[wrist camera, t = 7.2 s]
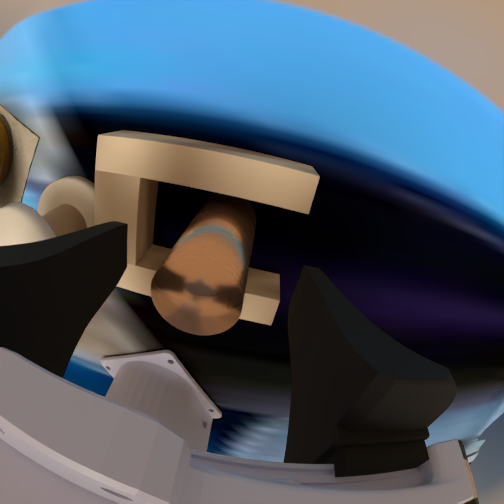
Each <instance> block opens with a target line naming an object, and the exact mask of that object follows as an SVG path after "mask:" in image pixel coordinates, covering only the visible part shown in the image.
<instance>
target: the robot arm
mask: <svg viewBox="0 0 504 504" xmlns="http://www.w3.org/2000/svg"><path fill="white" fill-rule="evenodd" d="M127 234H128V224H126V223H122V222H117V221H111V222H106V223H102V224H99V225H95V226H92V227H88V228H85V229H82V230H79V231H75V232H72V233H68V234H65V235H61V236H58V237H54V238H50V239H46V240H41V241H36V242H31V243H24V244H16V245H8V246H0V504H463V503H465V502H467V501H468V500H470V499H472V498H473V496H474V495H473V491H472V487H471V483H470V479H469V475H468V472H467V468H466V465H465V461H464V458H463V455H462V451H461V448H460V445H459V442H458V440H456V439H454V440H450V441H445V442H440V443H436V444H433V445H431V446H429V447H427V448H426V444H425V441H424V440H426V439H427V438H429V431H428V428H427V427H428V426H429V425H430V424H431V423H433V422H434V421H435V420H436V419H437V418H438V417H439V416H440V415H441V414H442V413H443V412H444V411H445V410H446V409H447V408H448V407H449V406H450V405H451V403H452V402H453V400H454V398H455V396H456V393H457V387H456V384H455V382H454V380H453V378H452V376H451V373H450V371H449V370H448V368H446V367H443V366H441V365H439V364H437V363H435V362H432V361H430V360H428V359H426V358H424V357H422V356H420V355H418V354H417V353H415V352H413V351H411V350H410V349H408V348H406V347H405V346H403V345H401V344H400V343H398V342H397V341H395V340H394V339H393V338H391V337H390V336H388V335H387V334H385V333H384V332H383V331H381V330H380V329H379V328H378V327H376V326H375V325H374V324H373V323H372V322H371V321H369V320H368V319H367V318H366V317H365V316H364V315H363V314H361V313H360V312H359V311H358V310H357V309H356V308H355V307H354V306H353V305H352V304H351V303H350V302H349V300H348V299H347V298H346V297H345V296H344V295H343V294H342V293H341V292H340V291H339V290H338V288H337V287H336V286H335V285H334V284H333V283H332V282H331V280H330V279H329V278H328V277H327V276H326V275H325V274H324V273H323V272H322V271H321V270H320V269H319V268H316V267H311V266H307V265H304V266H303V269H302V272H301V275H300V277H299V280H298V283H297V286H296V288H295V291H294V294H293V297H292V299H291V302H290V305H289V314H288V335H289V347H290V359H291V371H292V388H291V405H290V417H289V428H288V436H287V444H286V451H285V457H284V463H280V462H269V461H259V460H251V459H244V458H237V457H231V456H225V455H219V454H214V453H209V452H206V451H207V446H208V440H209V435H210V430H211V425H212V419H213V418H220V417H221V416H222V413H221V411H220V410H219V409H218V408H217V407H216V406H215V404H214V403H213V402H212V401H211V400H210V399H209V397H208V396H207V395H206V394H205V392H204V391H203V390H202V389H201V388H200V386H199V385H198V384H197V383H196V381H195V380H194V379H193V378H192V376H191V375H190V374H189V372H188V371H187V370H186V369H185V367H184V366H183V365H182V363H181V362H180V361H179V359H178V358H177V357H176V355H175V354H174V353H173V352H172V351H170V350H161V351H154V352H147V353H139V354H132V355H123V356H114V357H105V358H102V359H101V361H100V362H101V364H102V365H103V367H104V368H105V369H106V370H107V371H108V372H109V373H110V374H111V376H112V377H113V378H114V380H113V382H112V384H111V386H110V388H109V390H108V392H107V394H106V396H105V397H103V396H101V395H98V394H96V393H94V392H91V391H89V390H87V389H84V388H82V387H80V386H78V385H76V384H73V383H71V382H69V381H67V380H65V379H63V376H64V373H65V371H66V368H67V366H68V363H69V361H70V358H71V356H72V354H73V352H74V350H75V348H76V345H77V343H78V342H79V340H80V338H81V336H82V334H83V332H84V330H85V328H86V327H87V325H88V324H89V322H90V321H91V319H92V318H93V316H94V315H95V314H96V312H97V311H98V310H99V308H100V307H101V306H102V304H103V303H104V302H105V300H106V299H107V298H108V296H109V295H110V294H111V292H112V291H113V290H114V288H115V287H116V286H117V284H118V283H119V281H120V279H121V277H122V276H123V274H124V272H125V270H126V268H127Z"/></svg>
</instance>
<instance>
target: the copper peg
mask: <svg viewBox="0 0 504 504" xmlns="http://www.w3.org/2000/svg"><path fill="white" fill-rule="evenodd" d="M255 228H256V214H255V211H254V209H253V207H252V206H251V204H250V203H249V202H248V201H247V200H246V199H243V198H239V197H235V196H230V195H226V194H217V195H215V196H213V197H211V198H210V199H209V200H208V201H207V202H206V203H205V204H204V205H203V207H202V208H201V209H200V211H199V212H198V213H197V215H196V216H195V218H194V219H193V220H192V222H191V223H190V224H189V226H188V227H187V229H186V230H185V231H184V233H183V234H182V236H181V237H180V238H179V240H178V241H177V243H176V244H175V245H174V247H173V248H172V250H171V251H170V253H169V254H168V255H167V257H166V258H165V260H164V261H163V263H162V264H161V266H160V267H159V269H158V270H157V272H156V273H155V275H154V277H153V279H152V282H151V297H152V301H153V303H154V305H155V307H156V309H157V311H158V312H159V313H160V315H161V316H162V317H163V318H164V319H165V320H166V321H167V322H169V323H170V324H171V325H173V326H174V327H176V328H178V329H180V330H182V331H185V332H188V333H191V334H196V335H214V334H218V333H221V332H224V331H226V330H228V329H229V328H231V327H232V326H233V325H234V324H235V323H236V322H237V321H238V319H239V317H240V315H241V312H242V307H243V301H244V295H245V289H246V283H247V277H248V271H249V265H250V259H251V252H252V246H253V240H254V234H255Z"/></svg>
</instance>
